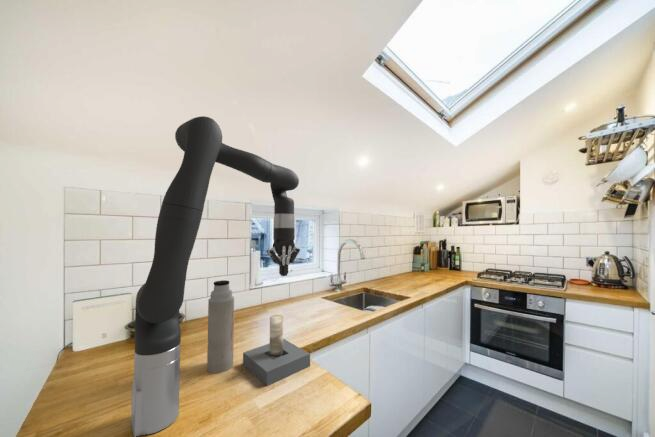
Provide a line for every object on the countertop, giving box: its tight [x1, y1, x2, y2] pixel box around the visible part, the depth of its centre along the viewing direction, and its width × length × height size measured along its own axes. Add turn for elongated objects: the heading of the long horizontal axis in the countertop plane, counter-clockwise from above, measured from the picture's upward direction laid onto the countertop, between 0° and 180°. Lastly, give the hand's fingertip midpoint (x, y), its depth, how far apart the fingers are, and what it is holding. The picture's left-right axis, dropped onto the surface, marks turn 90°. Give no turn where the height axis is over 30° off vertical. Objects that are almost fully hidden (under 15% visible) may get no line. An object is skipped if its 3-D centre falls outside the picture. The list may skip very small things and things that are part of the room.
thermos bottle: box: [206, 279, 235, 374], centre depth 85 cm, size 8×8×28 cm
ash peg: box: [269, 314, 284, 360], centre depth 86 cm, size 4×4×16 cm
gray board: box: [242, 338, 311, 387], centre depth 85 cm, size 16×16×4 cm
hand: (283, 275), depth 91 cm, fingers closed
